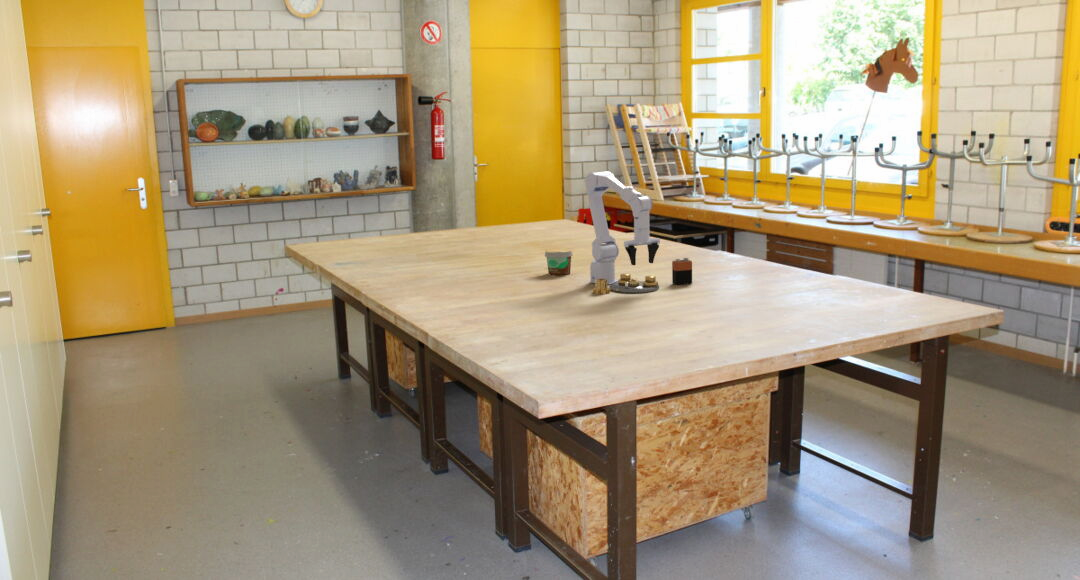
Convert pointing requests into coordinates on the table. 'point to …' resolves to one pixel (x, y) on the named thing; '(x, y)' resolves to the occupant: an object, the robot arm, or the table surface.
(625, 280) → the carrier
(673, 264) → the battery
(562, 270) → the food container
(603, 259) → the robot arm
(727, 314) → the table surface
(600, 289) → the planet gear
